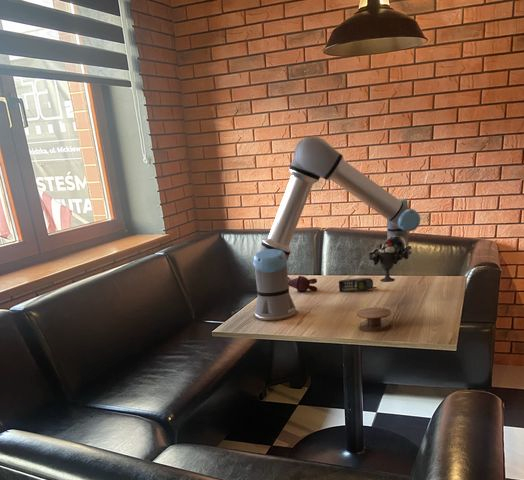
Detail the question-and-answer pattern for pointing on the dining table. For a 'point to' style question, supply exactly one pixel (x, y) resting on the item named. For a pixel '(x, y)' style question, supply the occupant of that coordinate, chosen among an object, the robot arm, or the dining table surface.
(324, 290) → the dining table surface
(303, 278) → the chocolate bunny
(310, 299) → the dining table surface
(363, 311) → the stand
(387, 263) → the sundae
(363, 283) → the mobile phone
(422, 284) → the dining table surface
